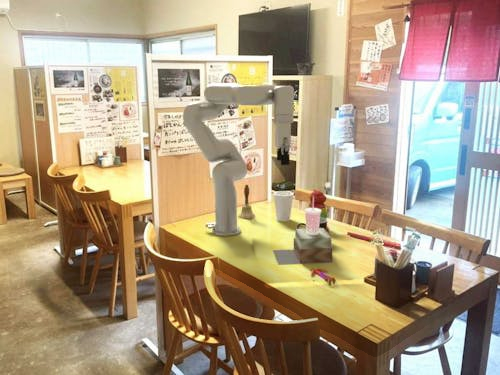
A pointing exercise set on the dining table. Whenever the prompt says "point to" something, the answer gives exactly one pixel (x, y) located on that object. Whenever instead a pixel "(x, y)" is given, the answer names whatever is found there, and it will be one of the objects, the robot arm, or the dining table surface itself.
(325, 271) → the toy figure
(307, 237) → the marbled stone cube
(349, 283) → the dining table surface
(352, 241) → the dining table surface
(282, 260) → the base board
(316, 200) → the stacking bear
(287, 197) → the foam cup
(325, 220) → the coffee mug
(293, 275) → the dining table surface
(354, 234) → the long red tool
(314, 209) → the beverage cup
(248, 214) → the hand bell
